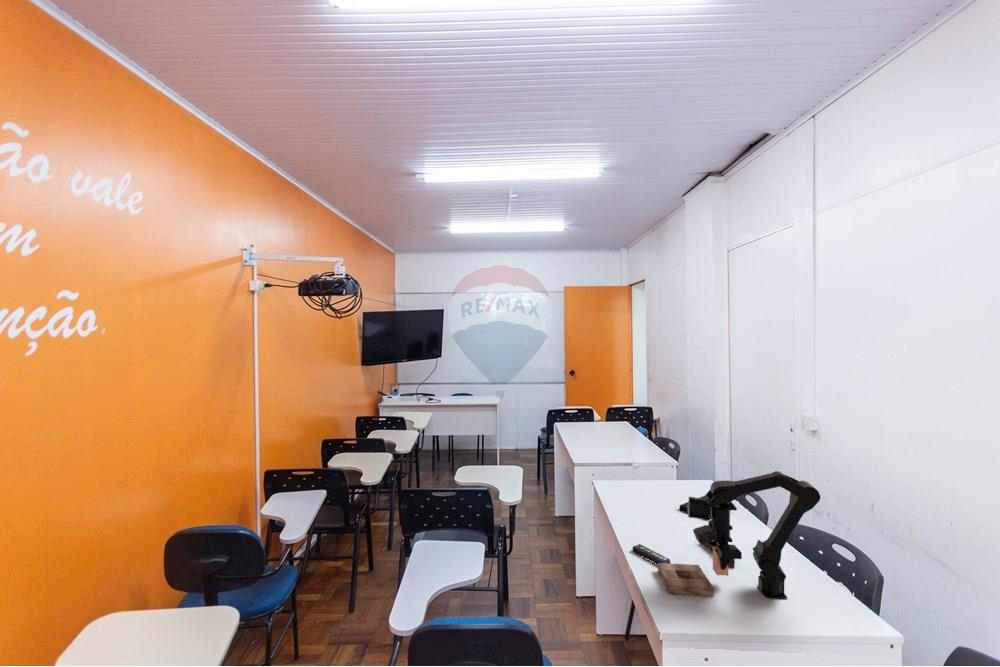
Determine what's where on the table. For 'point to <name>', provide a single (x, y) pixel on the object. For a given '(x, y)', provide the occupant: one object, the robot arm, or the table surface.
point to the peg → (718, 564)
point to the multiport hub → (650, 554)
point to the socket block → (685, 579)
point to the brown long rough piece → (712, 551)
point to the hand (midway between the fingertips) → (720, 566)
